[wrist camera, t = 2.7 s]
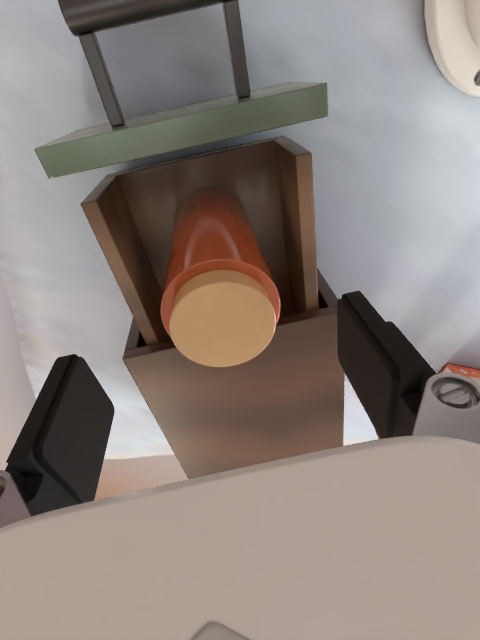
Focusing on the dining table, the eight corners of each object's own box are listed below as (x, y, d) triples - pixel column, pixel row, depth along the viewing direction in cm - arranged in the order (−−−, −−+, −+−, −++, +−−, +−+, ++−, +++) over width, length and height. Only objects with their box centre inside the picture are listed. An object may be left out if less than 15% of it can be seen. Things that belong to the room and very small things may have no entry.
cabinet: (140, 289, 26) (121, 359, 20) (307, 253, 26) (346, 311, 19) (192, 410, 35) (191, 485, 29) (315, 384, 35) (343, 453, 29)
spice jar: (242, 180, 20) (279, 258, 11) (254, 253, 23) (291, 360, 14) (163, 197, 20) (138, 289, 11) (185, 268, 23) (179, 384, 14)
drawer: (30, 20, 16) (-47, -8, 11) (282, -39, 16) (325, -95, 11) (159, 326, 27) (151, 382, 22) (306, 295, 27) (331, 344, 22)
